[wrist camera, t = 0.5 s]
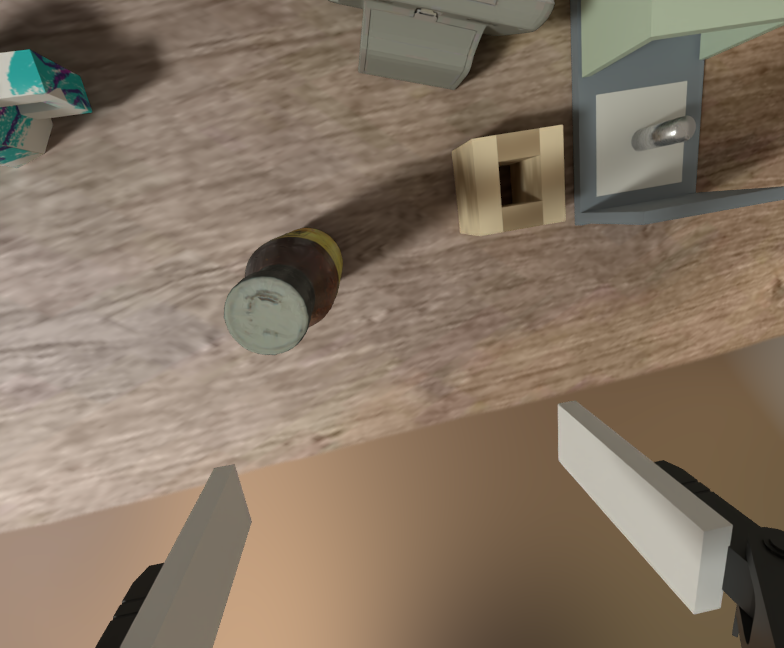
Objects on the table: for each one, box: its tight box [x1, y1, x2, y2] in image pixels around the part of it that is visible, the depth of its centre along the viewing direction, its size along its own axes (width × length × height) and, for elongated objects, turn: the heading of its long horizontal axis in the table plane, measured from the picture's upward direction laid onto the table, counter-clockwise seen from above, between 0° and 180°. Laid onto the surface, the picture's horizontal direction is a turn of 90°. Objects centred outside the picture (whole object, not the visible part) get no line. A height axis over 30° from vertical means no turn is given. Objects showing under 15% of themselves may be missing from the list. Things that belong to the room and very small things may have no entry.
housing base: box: [570, 0, 784, 225], centre depth 31 cm, size 26×12×9 cm, turn 9°
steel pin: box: [631, 116, 696, 152], centre depth 34 cm, size 2×2×6 cm
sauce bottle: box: [224, 228, 343, 355], centre depth 27 cm, size 7×6×20 cm
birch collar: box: [452, 125, 566, 236], centre depth 34 cm, size 8×8×6 cm
